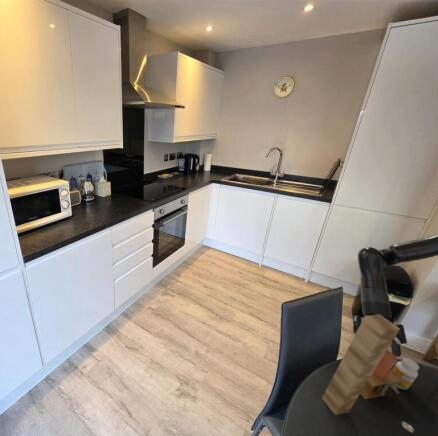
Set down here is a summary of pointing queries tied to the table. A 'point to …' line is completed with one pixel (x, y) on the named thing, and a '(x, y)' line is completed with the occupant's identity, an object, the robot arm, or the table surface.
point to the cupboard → (379, 384)
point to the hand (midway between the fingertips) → (381, 352)
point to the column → (359, 362)
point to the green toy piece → (390, 390)
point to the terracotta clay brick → (385, 364)
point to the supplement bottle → (406, 372)
